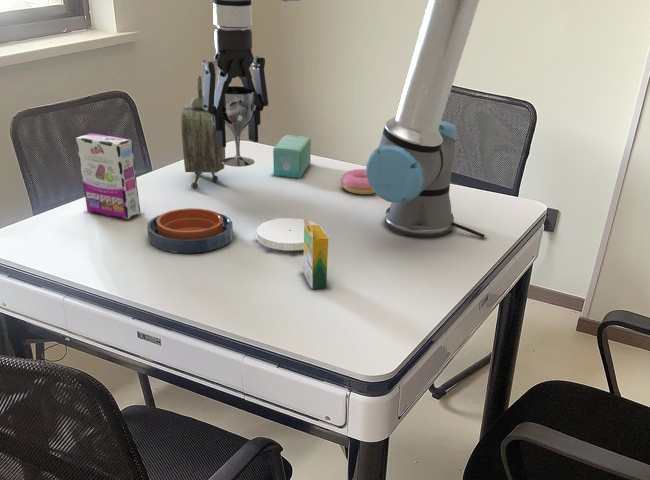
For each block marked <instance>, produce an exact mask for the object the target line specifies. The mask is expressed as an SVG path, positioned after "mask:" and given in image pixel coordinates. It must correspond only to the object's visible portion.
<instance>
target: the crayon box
mask: <svg viewBox="0 0 650 480" xmlns="http://www.w3.org/2000/svg"><path fill="white" fill-rule="evenodd" d="M303 220H304V250H303V259H302V262H303V264H302V274H303V275H304V277H305V279H306V281H307V284H308V285H309V286H310V289H311V290H319V289H326V288H327V281H328V280H327V277H328V258H329V257H328V254H329V238H328V237H327V235H326V233H325V232H323V231H324V230H323V231H322V229H321V228H320V226H321V225H320V226H319V224H318V225H310V223H309V222H308V221H309V220H308V218H307V217H306V216H303ZM307 224H308V225H307Z"/></svg>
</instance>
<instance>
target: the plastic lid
mask: <svg viewBox="0 0 650 480" xmlns="http://www.w3.org/2000/svg"><path fill="white" fill-rule="evenodd" d="M308 222H309V223H310V225H319V224H318V223H315V222H314V221H311V220H308ZM307 225H308V224H307ZM319 226H320V228H321V229H322V231H323V232H324V228H323V227H322V226H321V225H319ZM324 233H325V232H324ZM255 238H256V240H257V242H258V243H259V244H261V245H262V246H264V247H266V248H270V249H273V250H279V251H281V250H282V251H292V252H293V251H304V218H303V219H302V218H301V219H300V218H292V217H291V218H289V217H287V218H285V217H284V218H276V219H271V220H268V221H264V222H262V223H260V224H259V225H257V227H256V229H255Z"/></svg>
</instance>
